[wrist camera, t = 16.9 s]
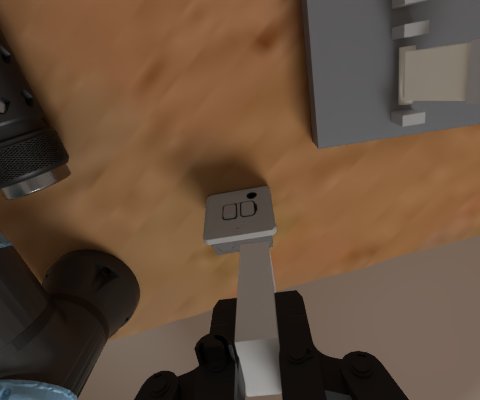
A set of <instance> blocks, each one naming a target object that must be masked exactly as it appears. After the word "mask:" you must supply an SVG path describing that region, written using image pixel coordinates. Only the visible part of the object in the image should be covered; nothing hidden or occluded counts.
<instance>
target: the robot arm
mask: <svg viewBox="0 0 480 400" xmlns="http://www.w3.org/2000/svg"><path fill="white" fill-rule="evenodd" d="M13 245H14V244H13V242H11V241H9V240H8V239H7V238H6V237H5V236H4V235H3V234H2V232H1V231H0V400H77V399H78V397H79V395H80V393H81V391H82V389H83V387H84V385H85V383H86V381H87V380H88V377H89V375H90V373H91V372H92V370H93V368H94V366H95V363H96V362H97V359H98V358H99V356H100V353H101V352H102V350H103V347H104V346H105V344H106V342H107V340H108V339H109V338H110V337H111V336H112V335H114V334H115V333H116V332H117V331H118V330H119V328H121V327H122V326H123V325H125V324H126V323H127V322H128V321H129V319H130V318H131V317H132V315H133V313H134V311H135V309H136V307H137V305H138V302H139V298H140V289H139V285H138V282H137V280H136V278H135V276H134V274H133V273H132V271H131V270H130V269H129V268H128V267H127V266H126V265H125V264H124V263H123V262H121V261H120V260H118V259H117V258H115V257H113V256H111V255H109V254H106V253H104V252H100V251H95V250H77V251H73V252H70V253H68V254H66V255H64V256H62V257H61V258H60V259H59V260H58V261H57V262H56V263H55V264H54V265H53V266H52V267H51V268H50V269H49V270H48V272H47V273H46V275H45V277H44V280H43V283H42V285H41V284H40V282H39V281H38V280H37V278H36V277H35V275H34V274H33V273H32V271H31V270H30V268H29V267H28V266H27V264H26V263H25V262H24V260H23V259H22V257H21V256H20V255H19V253H18V252H17V251H16V249H15V248H14V246H13ZM195 352H196V356H197V359H198V362H199V366H198V367H197V368H196V369H194V370H192V371H190V372H188V373H186V374H183V375H181V376H178V377H177V376H176V375H175V374H174V373H173V372H170V371H160V372H158V373H156V374H153V375H152V376H151V377H149V378H148V379H147V380H146V382H145V383H144V384H143V385H142V387H141V389H140V391H139V392H138V394H137V396H136V398H135V399H134V400H245V390H246V394H247V397H250V396H262V395H274V394H282V398H283V400H409V399H408V398H407V397H406V395H405V394H404V393H403V391H402V390H401V389H400V387H399V386H398V385H397V383H396V382H395V381H394V379H393V378H392V377H391V376H390V374H389V373H388V371H387V370H386V369H385V367H384V366H383V365H382V363H381V362H380V361H379V360H378V359H377V358H376V357H375V356H373V355H371V354H369V353H367V352H361V351H355V352H351V353H348V354H347V355H345V356H344V357H343V359H337V358H332V357H329V356H326V355H324V354H322V353H321V352H319V351H318V350H317V349H316V347H315V346H314V344H313V341H312V337H311V333H310V328H309V324H308V319H307V315H306V310H305V305H304V301H303V298H302V296H301V295H300V294H299V293H298V292H297V291H296V290H295V291H286V292H277V293H276V289H275V281H274V275H273V268H272V262H271V255H270V249H269V242H268V241H267V242H259V243H252V244H244V245H240V259H239V275H238V292H237V298H232V299H223V300H219V301H218V302H217V304H216V305H215V307H214V308H213V314H212V320H211V327H210V333H209V334H207V335H205V336H204V337H202V338H201V339H200V340H199V341H198V342H197V344H196V346H195Z"/></svg>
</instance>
